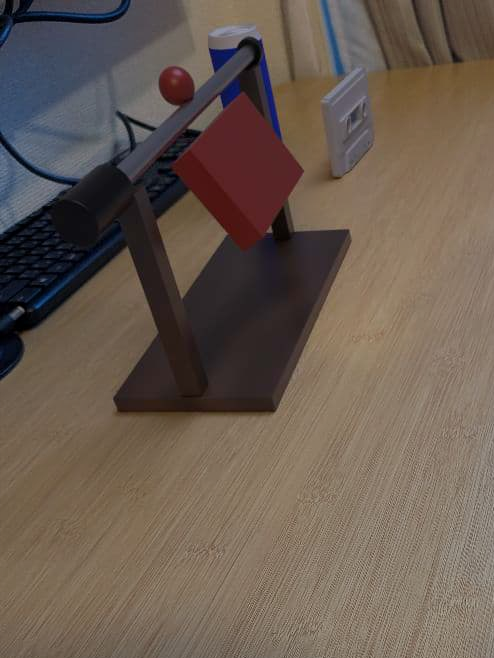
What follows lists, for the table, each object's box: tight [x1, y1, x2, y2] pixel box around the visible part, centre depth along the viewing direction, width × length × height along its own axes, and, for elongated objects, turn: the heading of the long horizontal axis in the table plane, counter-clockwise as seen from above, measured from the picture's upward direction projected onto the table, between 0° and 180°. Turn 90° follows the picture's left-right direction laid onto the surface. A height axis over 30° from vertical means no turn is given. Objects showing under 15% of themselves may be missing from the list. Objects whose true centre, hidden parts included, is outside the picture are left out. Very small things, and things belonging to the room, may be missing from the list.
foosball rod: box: [50, 36, 305, 252], centre depth 57 cm, size 3×33×11 cm, turn 171°
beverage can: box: [207, 22, 284, 143], centre depth 83 cm, size 5×5×15 cm
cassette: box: [320, 66, 375, 178], centre depth 89 cm, size 12×2×8 cm, turn 162°
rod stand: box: [112, 64, 352, 413], centre depth 63 cm, size 12×27×15 cm, turn 170°
